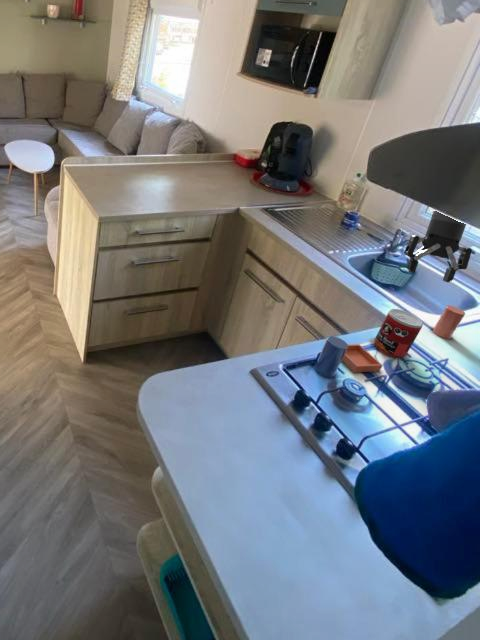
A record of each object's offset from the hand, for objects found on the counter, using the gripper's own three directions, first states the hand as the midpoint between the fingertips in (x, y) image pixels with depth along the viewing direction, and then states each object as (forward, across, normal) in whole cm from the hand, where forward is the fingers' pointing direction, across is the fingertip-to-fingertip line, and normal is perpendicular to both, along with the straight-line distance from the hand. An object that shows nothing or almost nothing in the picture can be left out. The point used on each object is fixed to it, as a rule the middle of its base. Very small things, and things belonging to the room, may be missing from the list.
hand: (428, 277), depth 117 cm
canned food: (+22, -5, -3) cm, 23 cm away
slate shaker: (+28, -24, -22) cm, 43 cm away
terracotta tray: (+25, -16, -14) cm, 33 cm away
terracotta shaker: (+17, +15, +14) cm, 27 cm away
